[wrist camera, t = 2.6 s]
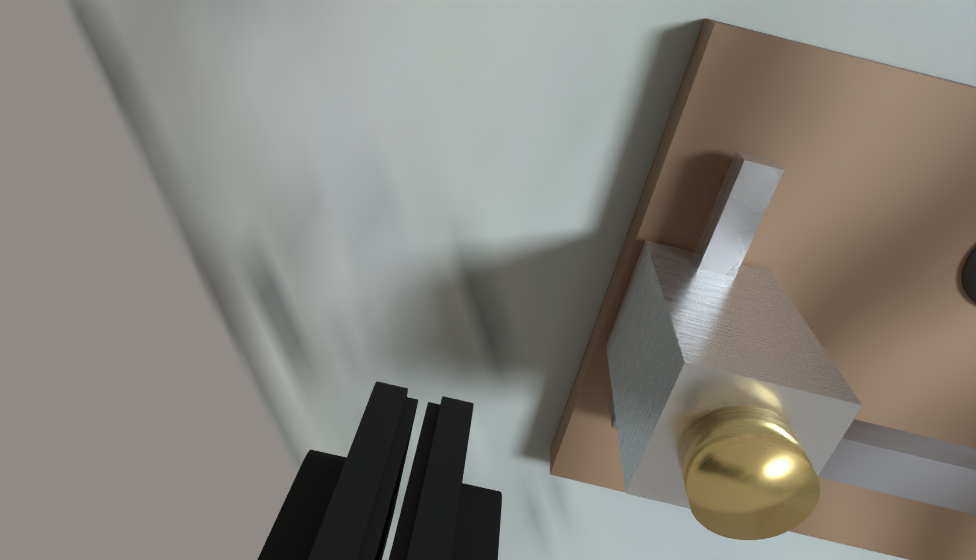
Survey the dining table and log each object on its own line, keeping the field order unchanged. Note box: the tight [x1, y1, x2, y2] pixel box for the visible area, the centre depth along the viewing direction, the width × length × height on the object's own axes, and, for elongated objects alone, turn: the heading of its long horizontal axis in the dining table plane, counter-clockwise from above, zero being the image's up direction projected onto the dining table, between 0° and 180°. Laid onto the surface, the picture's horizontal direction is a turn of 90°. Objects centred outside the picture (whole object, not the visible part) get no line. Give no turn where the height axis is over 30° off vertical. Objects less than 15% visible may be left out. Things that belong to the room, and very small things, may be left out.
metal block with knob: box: [606, 151, 863, 540], centre depth 15 cm, size 4×7×7 cm, turn 167°
